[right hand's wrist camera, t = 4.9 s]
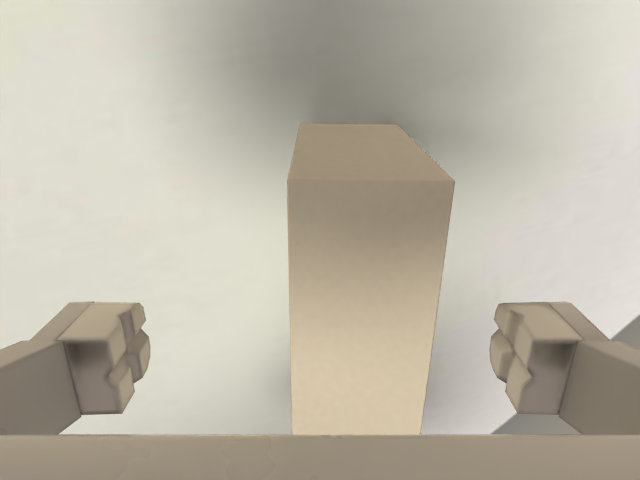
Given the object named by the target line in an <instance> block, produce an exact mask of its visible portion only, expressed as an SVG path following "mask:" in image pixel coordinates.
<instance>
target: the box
mask: <svg viewBox="0 0 640 480" xmlns="http://www.w3.org/2000/svg"><path fill="white" fill-rule="evenodd" d="M454 185H455V181H454V180H453V179H452V178H451V177H450V176H449V175H448V174H447V173H446V172H445V171H444V170H443V169H442V168H441V167H440V166H439V165H438V164H437V163H436V162H435V161H434V160H433V159H432V158H431V157H430V156H429V155H428V154H427V153H426V152H425V151H424V150H423V149H422V148H421V147H420V146H419V145H418V144H417V143H416V142H415V141H414V140H413V139H412V138H411V137H410V136H408V135H407V134H406V133H405V132H404V131H403V130H402V129H401V128H400V127H399V126H398V125H397V124H324V123H301V124H300V126H299V130H298V135H297V139H296V144H295V148H294V152H293V157H292V161H291V166H290V170H289V174H288V179H287V206H288V256H289V306H290V356H291V406H292V435H420V434H421V426H422V419H423V412H424V404H425V397H426V390H427V382H428V375H429V368H430V360H431V353H432V346H433V339H434V331H435V324H436V317H437V309H438V302H439V295H440V287H441V280H442V273H443V265H444V258H445V251H446V244H447V236H448V229H449V222H450V214H451V207H452V200H453V192H454Z"/></svg>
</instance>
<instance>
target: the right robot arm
mask: <svg viewBox="0 0 640 480" xmlns="http://www.w3.org/2000/svg"><path fill="white" fill-rule="evenodd" d="M145 321H146V318H145V313H144V308H143V306H142V305H141V304H140V303H120V302H72V303H69V304H68V305H67V306H66V307H65V308H64V309H62V310H61V311H60V312H59V313H58V314H57V315H56V316H55V317H54V318H53V319H52V320H51V321H50V322H49V323H48V324H47V325H46V326H44V327H43V328H42V329H41V330H40V331H39V332H38V333H37V334H36V335H35V336H34V337H33V338H32V339H31V340H30V341H20V342H18V343H16V344H13V345H11V346H8V347H6V348H4V349H1V350H0V480H640V350H639V349H636V348H634V347H632V346H629V345H627V344H624V343H622V342H620V341H610V340H609V339H608V338H607V337H606V336H605V335H604V334H603V333H602V332H601V331H600V330H599V329H598V328H597V327H596V326H595V325H594V324H592V323H591V322H590V321H589V320H588V319H587V318H586V317H585V316H584V315H583V314H582V313H581V312H580V311H579V310H578V309H577V308H576V307H574V306H573V305H572V304H571V303H568V302H530V303H501V304H499V305H498V307H497V309H496V312H495V318H494V321H495V322H496V324H497V325H498V327H499V329H498V330H497V331H496V332H495V333H494V334H493V336H492V337H491V343H490V360H491V364H492V367H493V370H494V372H495V374H496V376H497V378H499V379H500V380H502V381H503V382H505V383H507V385H506V391H505V392H506V394H507V395H508V397H509V399H510V401H511V402H512V404H513V406H514V408H515V409H516V411H517V413H518V414H549V415H559V417H560V418H561V419H563V420H564V421H565V422H567V423H568V424H569V425H571V426H572V427H573V428H574V429H576V430H577V431H578V432H580V433H581V434H577V435H575V434H572V435H571V434H570V435H567V434H565V435H563V434H558V435H557V434H556V435H554V434H553V435H58V434H59V433H60V432H62V431H63V430H64V429H66V428H67V427H68V426H70V425H71V424H72V423H74V422H75V421H76V420H78V419H79V418H80V417H81V415H91V414H122V413H123V411H124V409H125V408H126V406H127V404H128V402H129V401H130V399H131V397H132V395H133V394H134V392H135V390H134V385H133V383H135V382H137V381H138V380H140V379H141V378H143V376H144V374H145V372H146V370H147V368H148V363H149V359H150V342H149V337H148V335H147V334H146V333H145V332H144V331H143V330H142V329H141V327H142V325H143V324H144V322H145Z"/></svg>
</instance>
